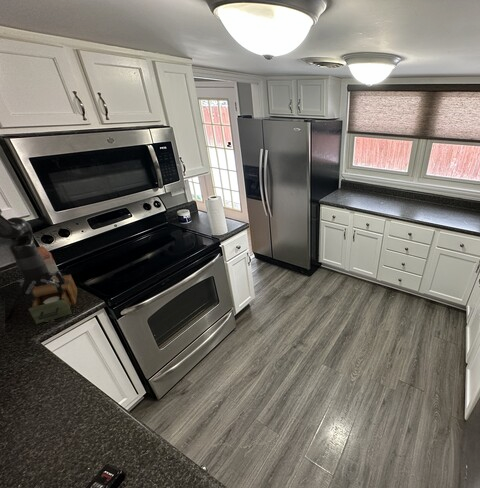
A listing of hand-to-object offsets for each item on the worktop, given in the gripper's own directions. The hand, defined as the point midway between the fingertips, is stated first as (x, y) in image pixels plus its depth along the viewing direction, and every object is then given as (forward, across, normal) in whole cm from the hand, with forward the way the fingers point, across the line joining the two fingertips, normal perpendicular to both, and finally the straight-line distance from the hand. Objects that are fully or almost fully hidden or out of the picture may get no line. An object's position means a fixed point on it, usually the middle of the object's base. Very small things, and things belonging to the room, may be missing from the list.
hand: (47, 296), depth 117 cm
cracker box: (+10, +3, -29) cm, 31 cm away
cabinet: (+10, 0, -11) cm, 15 cm away
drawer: (+9, 0, +1) cm, 9 cm away
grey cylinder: (+8, 0, 0) cm, 8 cm away
